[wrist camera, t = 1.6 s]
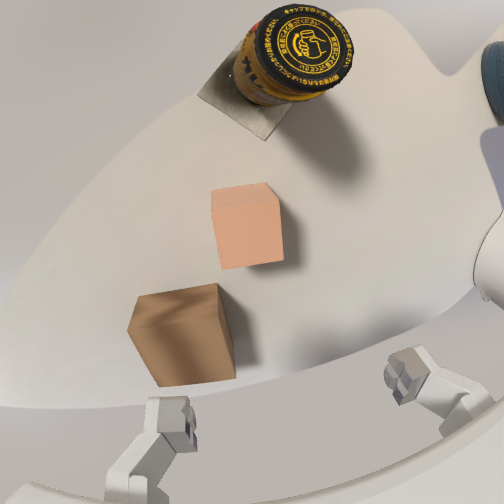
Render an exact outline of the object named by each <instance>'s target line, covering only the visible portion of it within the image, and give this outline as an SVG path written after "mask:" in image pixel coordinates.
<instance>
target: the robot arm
mask: <svg viewBox="0 0 504 504" xmlns="http://www.w3.org/2000/svg"><path fill="white" fill-rule="evenodd" d="M474 283H475V286H476V287H477V289H479V290H480V291H481V296H482V299H483V300H484V301H489V300H491V301H493V302H494V303H495V304H497V305H498V306H499V307H500V308H502V309H503V310H504V210H503V212H502V214H501V217H500V218H499V219H498V221H497V222H496V223H495V224H494V226H493V227H492V228H491V230H490V231H489V233H488V234H487V236H486V238H485V240H484V242H483V244H482V246H481V249H480V251H479V254H478V257H477V260H476V264H475V270H474ZM388 361H389V364H388V365H387V366H386V367H385V370H384V379H385V382H386V384H387V386H388V387H389V388H391V389H393V396H394V398H395V400H396V401H397V403H398V405H399V406H400V405H402V404H405V403H407V402H409V401H412V400H415V401H417V402H418V403H420V404H421V405H423V406H425V407H426V408H428V409H429V410H431V411H432V412H434V413H436V414H437V415H439V416H440V417H442V418H444V419H445V421H444V422H443V423H442V424H441V425H440V427H439V431H440V433H441V434H442V436H443V439H441V440H440V441H438V442H436V443H434V444H433V445H431V446H429V447H427V448H425V449H423V450H422V451H420V452H418V453H416V454H414V455H412V456H410V457H408V458H405V459H403V460H401V461H399V462H397V463H395V464H392V465H390V466H388V467H385V468H383V469H381V470H378V471H376V472H373V473H371V474H368V475H365V476H363V477H360V478H357V479H354V480H351V481H348V482H345V483H343V484H339V485H336V486H333V487H329V488H326V489H322V490H319V491H315V492H311V493H307V494H303V495H298V496H294V497H289V498H284V499H279V500H274V501H268V502H261V503H254V504H504V397H503V398H502V399H500V400H499V401H497V402H495V401H494V399H493V398H492V397H491V395H490V394H489V393H488V391H487V390H486V389H485V387H484V386H483V385H482V384H481V383H478V382H476V381H474V380H471V379H469V378H467V377H464V376H462V375H460V374H457V373H455V372H453V371H450V370H448V369H446V368H444V367H443V368H440V367H439V366H438V364H437V363H436V362H435V361H434V359H433V358H432V357H431V355H430V354H429V353H428V352H427V350H426V349H425V348H424V347H423V346H422V345H421V344H419V345H416V346H413V347H411V348H407V349H405V350H402V351H399V352H396V353H393V354H392V355H390V356H389V359H388ZM195 429H196V418H195V413H194V410H193V408H192V406H190V402H189V398H188V396H176V397H148V400H147V403H146V412H145V422H144V432H143V433H140V434H139V435H138V436H137V437H136V438H135V440H134V441H133V442H132V443H131V444H130V445H129V447H128V448H127V449H126V450H125V451H124V452H123V454H122V455H121V456H120V457H119V458H118V460H117V461H116V462H115V463H114V464H113V465H112V466H111V468H110V469H109V470H108V471H107V477H106V487H105V497H104V501H102V500H97V499H92V498H87V497H83V496H78V495H74V494H70V493H66V492H62V491H59V490H56V489H52V488H49V487H46V486H43V485H40V484H37V483H33V482H28V483H26V484H24V485H22V486H21V487H20V488H19V489H17V490H16V491H15V492H14V493H13V494H11V495H10V496H9V497H8V499H7V500H6V502H5V504H169V496H168V495H167V494H166V493H165V492H163V491H162V490H161V489H160V488H158V487H157V485H158V483H159V482H160V480H161V479H162V477H163V475H164V474H165V472H166V471H167V469H168V467H169V466H170V464H171V462H172V461H173V459H174V458H175V456H176V453H187V452H197V437H196V435H195V433H194V431H195Z"/></svg>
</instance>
